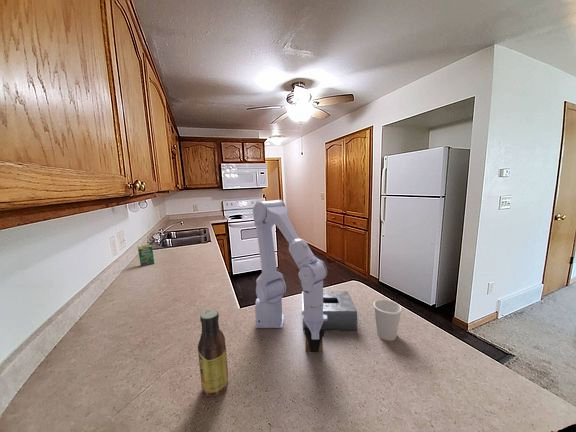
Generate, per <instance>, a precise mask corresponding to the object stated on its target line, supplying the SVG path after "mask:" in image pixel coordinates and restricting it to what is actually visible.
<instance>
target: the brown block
mask: <svg viewBox="0 0 576 432" xmlns="http://www.w3.org/2000/svg"><path fill="white" fill-rule="evenodd" d="M304 338H305V339H304V342H305V343H304V345H305V346H304V348H305V353H312V352H311V351H310V347H309V342H308V339H307V337H306V336H305V335H304ZM323 339H324V337H323V338H322V340H321V342H320V347H319V351H318V352H316V353H318V354H319V353H324V347H323V346H324V344H323V343H324V342H323V341H324V340H323Z"/></svg>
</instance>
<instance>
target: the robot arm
mask: <svg viewBox="0 0 576 432" xmlns="http://www.w3.org/2000/svg"><path fill="white" fill-rule="evenodd" d="M288 211H289V209H288V207H287V206H286V203H285V202H284V200H281V199H276V200H263V201H261V200H259V201H256V202H255V204H254V206H253V208H252V215H253V223H254V226H255V227H256V228H255V229H256V234H257V236H256V237H257V242H258V243H257V244H258V251H259V252H258V253H259V257H260V265H261V273H260V275H259V276H258V277H257V278H256V281H255V282H256V287H255V295H256V297H257V298H256V299H255V303H254V304H255V306H254V310H255V311H254V313H255V328H256V329H283V327H284V320H285V314H284V313H283V304H282V303H283V301H282V298H283V297H284V294H285V293H286V292H287V291H286V290H287V284H286V282H285V280H284V275H283V273H281V272H279V271H278V268H277V261H276V260H277V259H276V253H275V252H276V251H275V247H274V246H275V245H274V236H273V230H272V229H273V226H274V225H275V226H277V229H279V231H280V232H281V234H282V235H283V237H284V238H285V240H286V241H287V242H288V252H289V254H290V256H291V258H292V259H293V261H294V262H295V264H296V266H297V268H298V270H299V272H297V274H298V278H299V280H300V284H301V289H302V290H303V291H302V292H303V308H304V315H302V321H303V320H304V322H305V324H306V326H307V328H304V330H303V332H304V337H305V336H306V337H307V339H308V342H309V347H310V351H311V352H310V353H317V352H318V351H319V347H320V342H321V340H322V338H323V339H324V336H325V331H324V329H321V326H322V324H323V322H324V321H327V315H323V292H324V279H325V278H326V277H327V275H328V269H327V268H328V267H327V266H326V264H325V261H323V260H321V259H319V258H318V257H317V256H315V254H314V253H313V252H312V250H311V248H310V247H309V244H308V242H307V241H306V240H305V239H303V238H300V237H299V236H298V234H297V232H296V230H295V228H294V226H293V224H292V222H291V220H290V218H289V216H288V213H289V212H288Z"/></svg>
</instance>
